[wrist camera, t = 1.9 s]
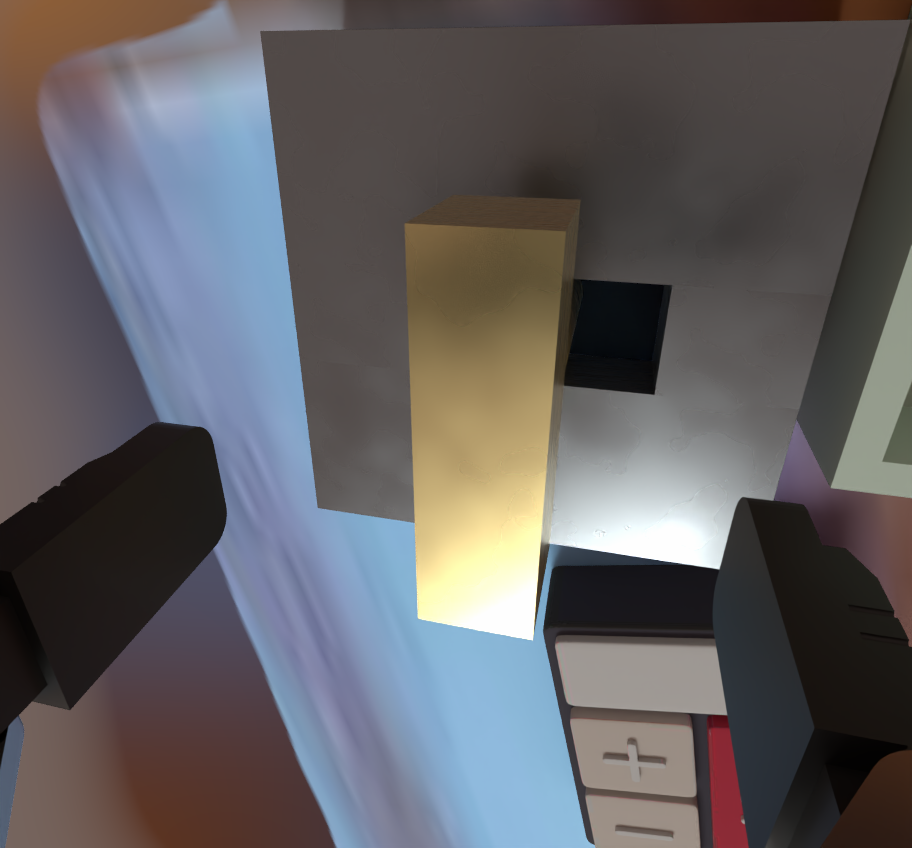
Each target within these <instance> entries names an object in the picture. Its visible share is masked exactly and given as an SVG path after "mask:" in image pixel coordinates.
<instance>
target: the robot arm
mask: <svg viewBox="0 0 912 848" xmlns="http://www.w3.org/2000/svg"><path fill="white" fill-rule="evenodd" d="M226 517H227V509H226V503H225V498H224V493H223V488H222V483H221V478H220V473H219V469H218V464H217V459H216V454H215V449H214V444H213V440H212V438H211V435H210V434H209V432H208V431H207V430H206V429H204V428H202V427H196V426H188V425H180V424H172V423H164V422H156V423H153V424H151V425H149V426H148V427H146V428H145V429H144V430H142V431H141V432H139V433H138V434H137V435H136V436H134V437H132V438H131V439H130V440H128V441H127V442H125V443H124V444H123V445H121V446H120V447H119V448H117V449H116V450H114V451H113V452H111V453H109V454H107V455H104V456H102V457H100V458H98V459H95V460H93V461H91V462H88V463H87V464H85V465H84V466H82V467H81V468H80V469H78V470H77V471H75V472H74V473H72V474H71V475H70V476H68V477H67V478H65V479H64V480H62V481H61V484H60V486H54V487H53V488H51V489H50V490H48V491H47V492H45V493H44V494H43V495H41V496H40V497H38V501H37V503H34V502H31V503H30V504H28V505H27V506H26V507H24V508H23V509H22V510H20V511H19V512H17V513H16V514H14V515H13V516H12V517H10V518H9V519H7V520H6V521H4V522H3V523H1V524H0V848H5V844H6V839H7V833H8V827H9V821H10V815H11V808H12V803H13V798H14V792H15V786H16V779H17V773H18V768H19V762H20V756H21V750H22V743H23V739H24V727H23V723H22V721H21V719H20V717H19V714H20V713H21V712H22V711H23V710H24V709H25V708H26V707H27V706H28V705H29V704H30V703H31V702H32V701H34V702H38V703H42V704H46V705H51V706H54V707H58V708H63V709H67V710H71V708H72V707H73V706H74V705H75V704H76V703H77V702H78V701H79V699H80V698H81V697H82V696H83V695H84V694H85V693H86V692H87V690H88V689H89V688H90V687H91V686H92V685H93V684H94V682H95V681H96V680H97V679H98V678H99V677H100V675H102V673H103V672H104V671H105V670H106V669H107V668H108V667H109V665H110V664H111V663H112V662H113V661H114V660H115V659H116V658H117V657H118V655H119V654H120V653H121V652H122V651H123V650H124V649H125V648H126V646H127V645H128V644H129V643H130V642H131V641H132V639H134V637H135V636H136V635H137V634H138V633H139V632H140V631H141V629H142V628H143V627H144V626H145V625H146V624H147V623H148V621H149V620H150V619H151V618H152V617H153V616H154V615H155V614H156V612H157V611H158V610H159V609H160V608H161V607H162V606H163V605H164V604H165V602H166V601H167V600H168V599H169V598H170V597H171V596H172V595H173V593H174V592H175V591H176V590H177V589H178V588H179V587H180V585H181V584H182V583H183V582H184V581H185V580H186V579H187V578H188V576H189V575H190V574H191V573H192V572H193V571H194V570H195V569H196V567H197V566H198V565H199V564H200V563H201V562H202V561H203V560H204V558H205V557H206V556H207V555H208V554H209V553H210V552H211V550H212V549H213V548H214V547H215V546H216V545H217V543H218V542H219V540H220V538H221V536H222V534H223V531H224V528H225V524H226ZM713 630H714V637H715V643H716V649H717V655H718V661H719V667H720V673H721V680H722V686H723V692H724V698H725V704H726V710H727V717H728V723H729V729H730V735H731V741H732V747H733V753H734V760H735V766H736V772H737V778H738V784H739V790H740V797H741V803H742V809H743V815H744V821H745V827H746V834H747V840H748V846H749V848H912V647H909V645H908V641H909V639H908V637H907V635H906V633H905V631H904V629H903V627H902V625H901V623H900V621H899V619H898V618H894V610H893V608H892V606H891V604H890V602H889V600H888V598H887V596H886V594H885V592H884V590H883V588H882V586H881V584H880V582H879V580H878V578H877V577H875V576H874V575H873V574H872V573H871V572H870V571H869V570H868V569H867V568H866V567H865V566H864V565H863V564H862V563H860V562H859V561H858V560H857V559H856V558H855V557H854V556H853V555H852V554H851V553H850V552H849V551H848V550H847V549H845V548H838V547H831V546H824V545H822V543H821V541H820V539H819V536H818V534H817V532H816V529H815V527H814V525H813V522H812V520H811V518H810V515H809V513H808V511H807V509H806V507H805V506H804V505H802V504H796V503H788V502H780V501H772V500H764V499H756V498H748V497H742V498H740V500H739V501H738V503H737V506H736V508H735V512H734V515H733V519H732V523H731V527H730V531H729V535H728V538H727V542H726V546H725V550H724V554H723V558H722V562H721V565H720V569H719V573H718V577H717V581H716V585H715V591H714V598H713Z"/></svg>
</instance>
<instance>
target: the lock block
mask: <svg viewBox="0 0 912 848" xmlns="http://www.w3.org/2000/svg"><path fill="white" fill-rule="evenodd" d="M909 24H910V20H871V21H814V22H757V23H701V24H644V25H587V26H531V27H474V28H417V29H361V30H304V31H260V33H261V41H262V49H263V57H264V66H265V74H266V82H267V91H268V99H269V107H270V115H271V124H272V132H273V140H274V149H275V157H276V165H277V173H278V182H279V190H280V198H281V207H282V215H283V223H284V231H285V240H286V248H287V256H288V265H289V273H290V281H291V289H292V298H293V306H294V314H295V323H296V331H297V339H298V347H299V356H300V364H301V372H302V381H303V389H304V397H305V405H306V414H307V422H308V430H309V439H310V447H311V455H312V463H313V472H314V480H315V488H316V497H317V505H318V508H322V509H328V510H335V511H341V512H348V513H354V514H361V515H368V516H374V517H381V518H387V519H394V520H400V521H407V522H413V523H415V513H414V484H413V454H412V425H411V396H410V366H409V337H408V308H407V278H406V249H405V223H406V222H408V221H409V220H411V219H413V218H415V217H416V216H418V215H420V214H421V213H423V212H425V211H426V210H428V209H430V208H432V207H433V206H435V205H437V204H438V203H440V202H442V201H443V200H445V199H447V198H449V197H450V196H452V195H472V196H498V197H523V198H549V199H574V200H581V202H580V213H579V224H578V235H577V247H576V258H575V269H574V279H585V280H600V281H616V282H631V283H646V284H662V285H664V288H663V294H662V300H661V307H660V313H659V319H658V326H657V332H656V338H655V345H654V351H653V357H652V361H649V360H637V359H626V358H615V357H604V356H593V355H582V354H571V353H569V356H568V360H567V364H566V368H565V380H564V391H563V402H562V413H561V424H560V435H559V446H558V457H557V468H556V479H555V490H554V501H553V512H552V524H551V535H550V544H557V545H564V546H570V547H577V548H583V549H590V550H596V551H603V552H609V553H616V554H622V555H629V556H635V557H642V558H648V559H655V560H662V561H668V562H675V563H681V564H688V565H694V566H701V567H707V568H714V569H720V565H721V562H722V558H723V554H724V550H725V546H726V542H727V538H728V535H729V531H730V527H731V523H732V519H733V515H734V512H735V508H736V506H737V503H738V501H739V500H740V498H742V497H748V498H756V499H764V500H772V501H773V499H774V496H775V492H776V489H777V485H778V482H779V478H780V475H781V471H782V468H783V464H784V461H785V457H786V454H787V450H788V447H789V443H790V440H791V436H792V433H793V429H794V426H795V422H796V419H797V415H798V412H799V408H800V405H801V401H802V398H803V394H804V391H805V387H806V384H807V380H808V377H809V373H810V370H811V366H812V363H813V359H814V356H815V352H816V349H817V345H818V342H819V338H820V335H821V331H822V328H823V324H824V321H825V317H826V314H827V310H828V307H829V303H830V300H831V296H832V293H833V289H834V286H835V282H836V279H837V275H838V272H839V268H840V265H841V261H842V258H843V254H844V251H845V247H846V244H847V240H848V237H849V233H850V230H851V226H852V223H853V219H854V216H855V212H856V209H857V205H858V202H859V198H860V195H861V191H862V188H863V184H864V181H865V177H866V174H867V170H868V167H869V163H870V160H871V156H872V153H873V149H874V146H875V142H876V139H877V135H878V132H879V128H880V125H881V121H882V118H883V114H884V111H885V107H886V104H887V101H888V97H889V94H890V90H891V87H892V83H893V80H894V76H895V73H896V69H897V66H898V62H899V59H900V55H901V52H902V48H903V45H904V41H905V38H906V34H907V31H908V27H909Z"/></svg>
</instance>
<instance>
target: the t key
mask: <svg viewBox="0 0 912 848" xmlns="http://www.w3.org/2000/svg"><path fill="white" fill-rule="evenodd" d="M580 202H581V200H574V199H549V198H523V197H498V196H472V195H452V196H450V197H449V198H447V199H445V200H443V201H442V202H440V203H438V204H437V205H435V206H433V207H432V208H430V209H428V210H426V211H425V212H423V213H421V214H420V215H418V216H416V217H415V218H413V219H411V220H409V221H408V222H406V223H405V249H406V278H407V308H408V337H409V366H410V396H411V425H412V454H413V484H414V513H415V543H416V572H417V601H418V619H423V620H429V621H434V622H440V623H445V624H450V625H456V626H461V627H466V628H472V629H477V630H482V631H488V632H493V633H499V634H504V635H509V636H515V637H520V638H525V639H531V640H533V635H534V629H535V624H536V618H537V613H538V607H539V602H540V596H541V591H542V585H543V580H544V574H545V569H546V563H547V557H548V552H549V546H550V535H551V524H552V512H553V501H554V490H555V479H556V468H557V457H558V446H559V435H560V424H561V413H562V402H563V391H564V380H565V368H566V364H567V360H568V356H569V353H570V348H571V343H572V339H573V335H574V331H575V327H576V323H577V318H578V314H579V310H580V306H581V302H582V297H583V286H582V282H581V279H574V269H575V258H576V247H577V235H578V224H579V213H580Z"/></svg>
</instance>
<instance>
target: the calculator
mask: <svg viewBox="0 0 912 848" xmlns="http://www.w3.org/2000/svg"><path fill="white" fill-rule="evenodd" d="M718 573H719V569H714V568H707V567H701V566H694V565H608V566H558V567H555V568H554V569H553V570H552V573H551V578H550V585H549V592H548V599H547V606H546V613H545V620H544V627H543V634H544V639H545V644H546V648H547V653H548V658H549V663H550V667H551V672H552V677H553V681H554V686H555V691H556V696H557V700H558V705H559V710H560V715H561V719H562V724H563V729H564V733H565V738H566V743H567V748H568V752H569V757H570V762H571V766H572V771H573V776H574V781H575V785H576V790H577V795H578V800H579V804H580V809H581V814H582V818H583V823H584V828H585V833H586V837H587V840H588V841H589V842H590V843H592V844H594V845H595V847H596V848H749V846H748V840H747V834H746V827H745V821H744V815H743V809H742V803H741V797H740V790H739V784H738V778H737V772H736V766H735V760H734V753H733V747H732V741H731V735H730V729H729V723H728V717H727V710H726V704H725V698H724V692H723V686H722V680H721V673H720V667H719V661H718V655H717V649H716V643H715V637H714V630H713V598H714V591H715V585H716V581H717V577H718Z"/></svg>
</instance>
